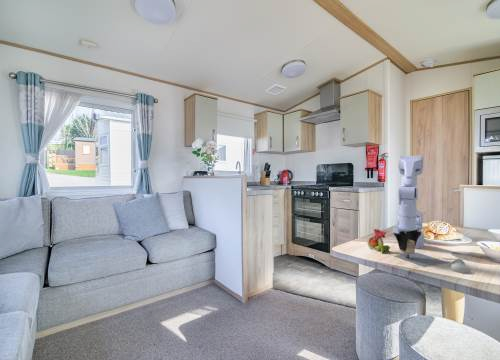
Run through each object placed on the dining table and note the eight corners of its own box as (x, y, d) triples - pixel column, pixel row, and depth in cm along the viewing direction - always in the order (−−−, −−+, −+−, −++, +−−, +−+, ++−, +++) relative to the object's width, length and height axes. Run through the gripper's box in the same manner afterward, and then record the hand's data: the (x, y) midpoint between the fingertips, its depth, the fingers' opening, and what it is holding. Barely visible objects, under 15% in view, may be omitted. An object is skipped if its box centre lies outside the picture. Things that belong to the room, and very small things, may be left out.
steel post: (406, 256, 100) (406, 242, 99) (410, 258, 98) (410, 243, 98) (403, 257, 99) (403, 243, 99) (407, 258, 98) (407, 244, 97)
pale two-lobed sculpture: (465, 281, 82) (447, 272, 86) (468, 273, 88) (450, 266, 91) (471, 270, 81) (452, 261, 84) (473, 263, 86) (455, 256, 90)
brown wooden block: (410, 250, 101) (410, 239, 101) (417, 253, 96) (417, 242, 96) (397, 249, 101) (397, 239, 101) (404, 253, 96) (404, 242, 96)
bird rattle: (368, 257, 108) (388, 254, 102) (359, 232, 112) (377, 228, 105) (375, 254, 112) (394, 251, 105) (366, 231, 116) (384, 226, 109)
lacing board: (416, 254, 105) (416, 252, 105) (449, 265, 93) (450, 262, 93) (392, 258, 101) (392, 255, 101) (424, 269, 88) (424, 267, 88)
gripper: (409, 213, 105) (408, 244, 105) (386, 215, 99) (385, 248, 99) (426, 216, 98) (426, 249, 99) (403, 218, 92) (402, 253, 93)
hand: (407, 249), depth 98 cm, fingers closed on brown wooden block, 5 cm apart
